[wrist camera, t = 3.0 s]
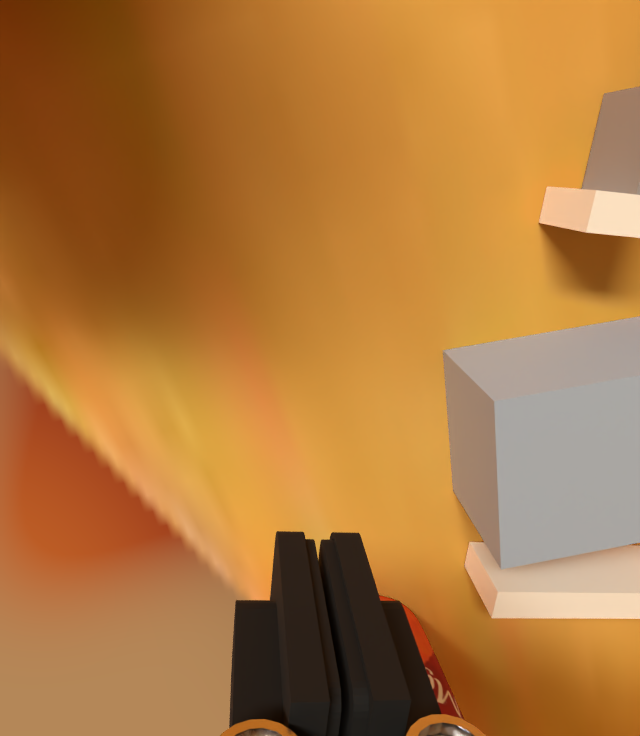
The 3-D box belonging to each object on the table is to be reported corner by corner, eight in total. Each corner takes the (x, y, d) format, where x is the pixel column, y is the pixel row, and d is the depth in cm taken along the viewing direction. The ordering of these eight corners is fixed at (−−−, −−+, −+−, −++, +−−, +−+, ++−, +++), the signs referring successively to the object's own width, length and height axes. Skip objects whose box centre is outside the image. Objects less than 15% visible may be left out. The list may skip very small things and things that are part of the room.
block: (441, 349, 21) (494, 401, 17) (698, 304, 22) (820, 343, 17) (451, 487, 23) (500, 569, 19) (686, 444, 24) (791, 512, 19)
